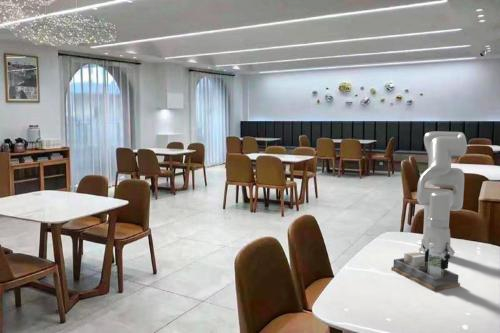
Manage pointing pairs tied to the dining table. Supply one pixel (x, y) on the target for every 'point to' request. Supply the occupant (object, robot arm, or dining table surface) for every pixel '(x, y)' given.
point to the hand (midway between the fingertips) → (435, 264)
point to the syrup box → (434, 263)
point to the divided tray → (423, 272)
